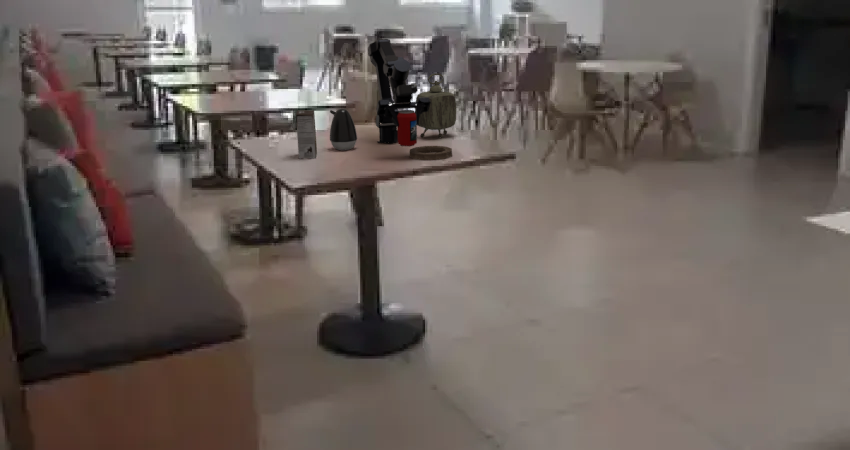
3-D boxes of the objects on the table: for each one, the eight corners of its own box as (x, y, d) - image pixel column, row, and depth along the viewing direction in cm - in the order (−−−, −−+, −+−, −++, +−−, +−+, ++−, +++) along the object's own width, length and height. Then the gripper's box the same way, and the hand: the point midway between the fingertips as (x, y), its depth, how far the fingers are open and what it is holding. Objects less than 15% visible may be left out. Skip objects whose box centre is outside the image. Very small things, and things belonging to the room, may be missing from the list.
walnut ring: (401, 157, 291) (401, 152, 291) (424, 149, 303) (424, 144, 303) (437, 161, 284) (437, 155, 283) (459, 153, 296) (459, 147, 295)
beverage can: (418, 146, 286) (417, 112, 283) (398, 147, 286) (397, 113, 282) (415, 142, 293) (415, 109, 289) (396, 143, 292) (396, 110, 289)
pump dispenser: (339, 145, 315) (337, 105, 311) (362, 147, 311) (360, 107, 306) (324, 150, 307) (322, 109, 302) (348, 152, 302) (345, 111, 298)
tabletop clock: (446, 133, 334) (445, 71, 327) (459, 136, 327) (458, 73, 319) (416, 137, 327) (414, 74, 320) (427, 140, 319) (426, 76, 312)
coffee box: (299, 153, 302) (296, 110, 297) (317, 153, 302) (314, 109, 298) (298, 159, 293) (295, 114, 289) (316, 158, 294) (313, 113, 289)
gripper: (376, 76, 284) (384, 113, 277) (428, 73, 288) (438, 110, 281) (372, 96, 293) (380, 132, 286) (423, 93, 298) (432, 128, 291)
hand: (408, 125), depth 286 cm, fingers closed on beverage can, 7 cm apart
